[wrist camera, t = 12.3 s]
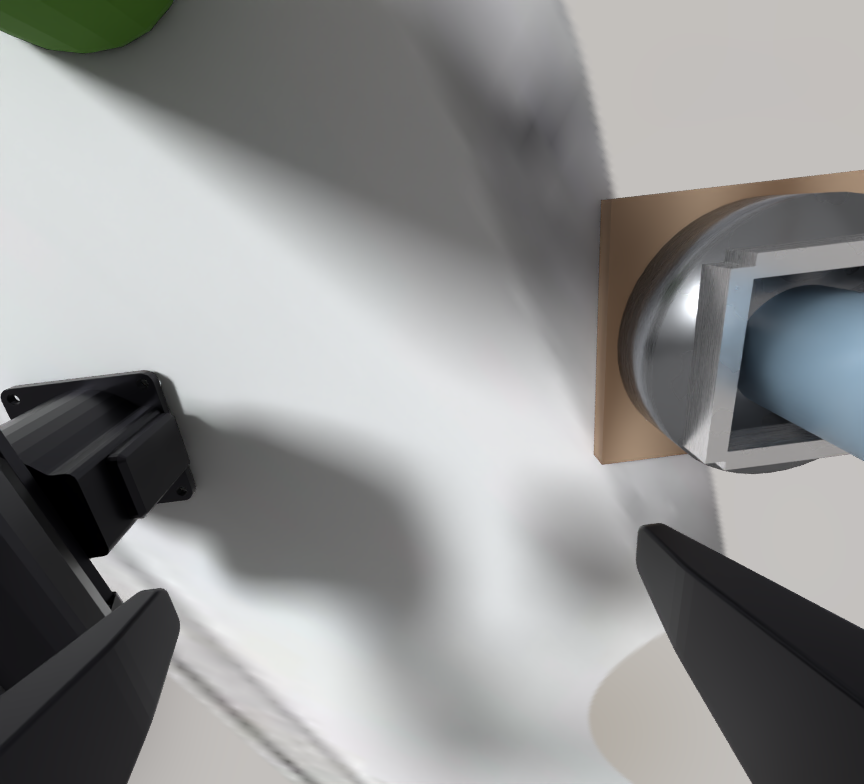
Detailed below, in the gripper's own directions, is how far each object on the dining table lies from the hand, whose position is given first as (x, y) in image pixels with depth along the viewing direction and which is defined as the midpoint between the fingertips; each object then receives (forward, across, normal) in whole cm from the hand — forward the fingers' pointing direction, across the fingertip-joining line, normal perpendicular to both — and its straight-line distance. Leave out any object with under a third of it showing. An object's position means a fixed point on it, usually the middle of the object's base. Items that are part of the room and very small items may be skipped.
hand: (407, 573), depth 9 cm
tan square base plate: (+13, -15, 0) cm, 20 cm away
